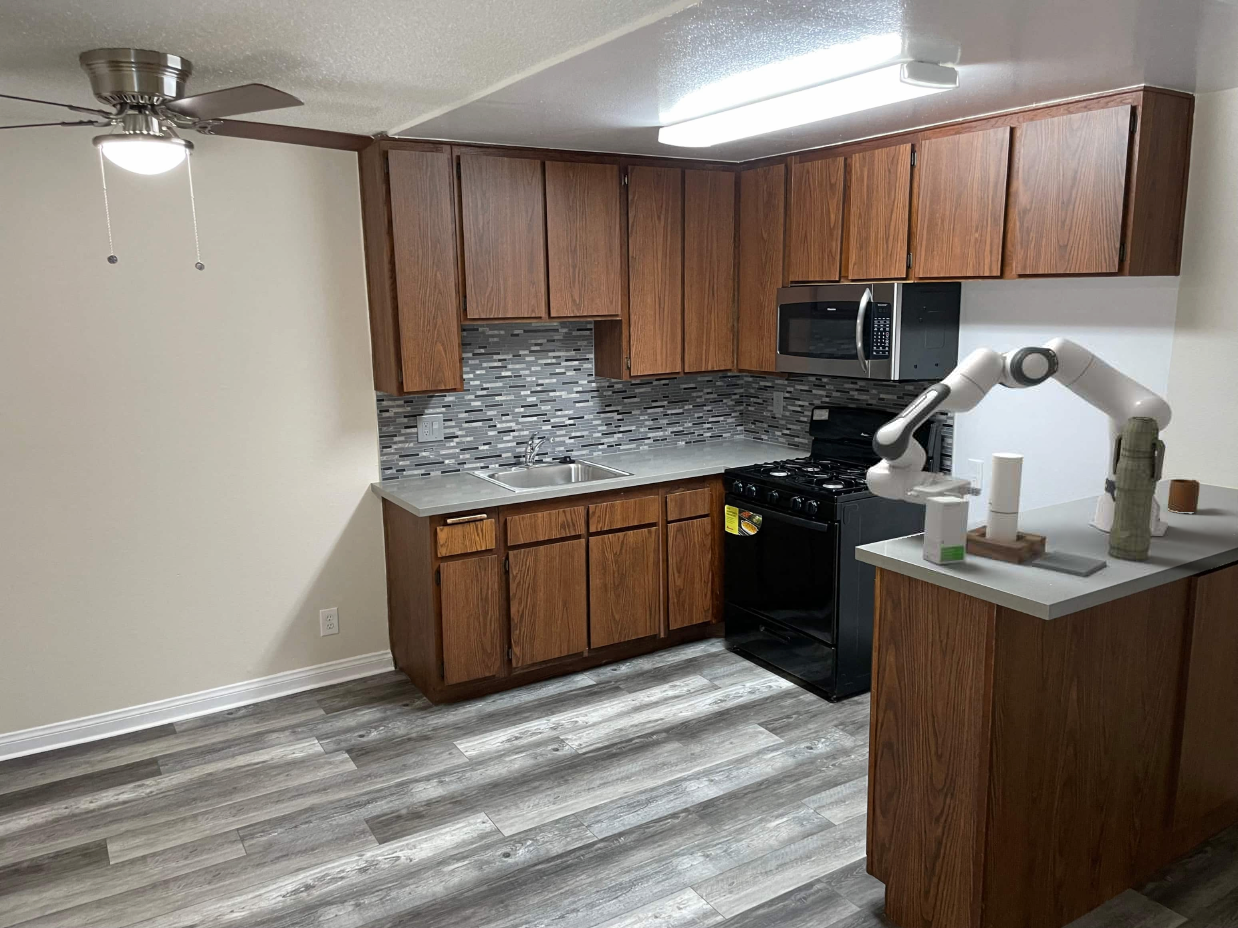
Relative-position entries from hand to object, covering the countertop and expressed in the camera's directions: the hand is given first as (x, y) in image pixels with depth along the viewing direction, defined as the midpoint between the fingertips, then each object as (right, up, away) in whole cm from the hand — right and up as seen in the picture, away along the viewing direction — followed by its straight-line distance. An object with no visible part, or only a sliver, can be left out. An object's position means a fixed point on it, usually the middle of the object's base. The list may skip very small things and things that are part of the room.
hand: (971, 495), depth 235 cm
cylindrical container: (+6, -14, -4) cm, 16 cm away
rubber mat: (+17, -16, -16) cm, 29 cm away
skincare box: (-12, -16, -12) cm, 23 cm away
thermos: (+36, -15, -9) cm, 40 cm away
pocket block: (+6, -14, -4) cm, 16 cm away
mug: (+81, -6, +41) cm, 91 cm away
